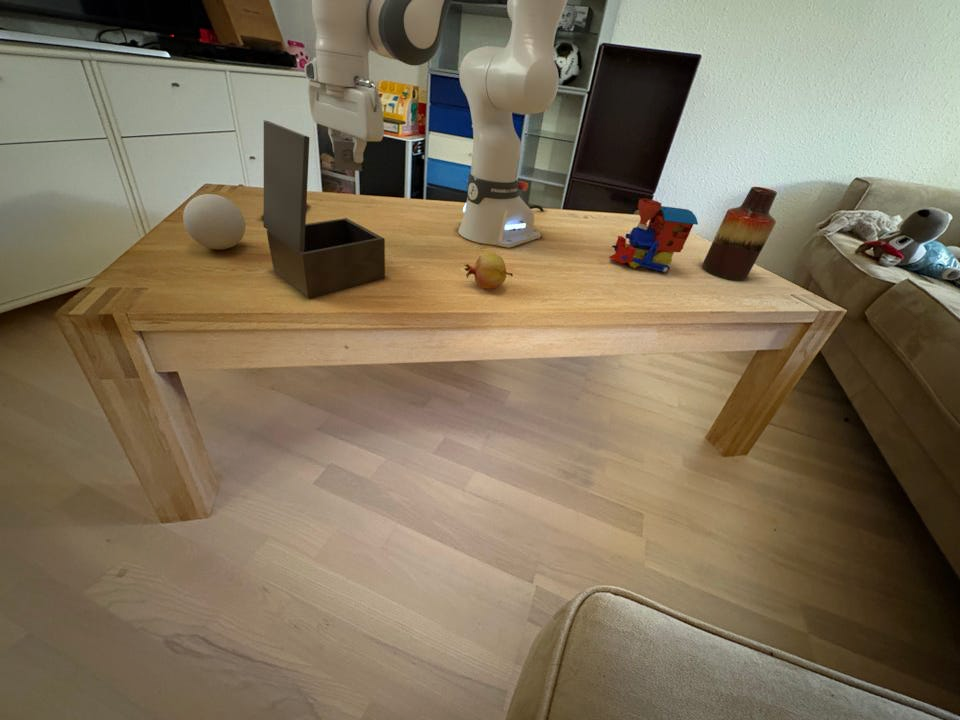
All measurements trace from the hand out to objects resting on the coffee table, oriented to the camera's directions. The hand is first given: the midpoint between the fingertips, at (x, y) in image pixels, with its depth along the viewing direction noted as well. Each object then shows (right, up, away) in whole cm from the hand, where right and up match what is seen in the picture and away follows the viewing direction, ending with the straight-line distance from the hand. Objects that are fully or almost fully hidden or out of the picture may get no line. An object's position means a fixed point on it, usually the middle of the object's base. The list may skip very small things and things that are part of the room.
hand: (347, 158), depth 82 cm
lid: (-4, -13, -17) cm, 22 cm away
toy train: (+66, -16, +21) cm, 71 cm away
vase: (+89, -17, +25) cm, 94 cm away
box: (-2, -24, -4) cm, 25 cm away
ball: (-25, -18, 0) cm, 31 cm away
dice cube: (0, -2, +1) cm, 2 cm away
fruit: (+28, -26, 0) cm, 38 cm away
